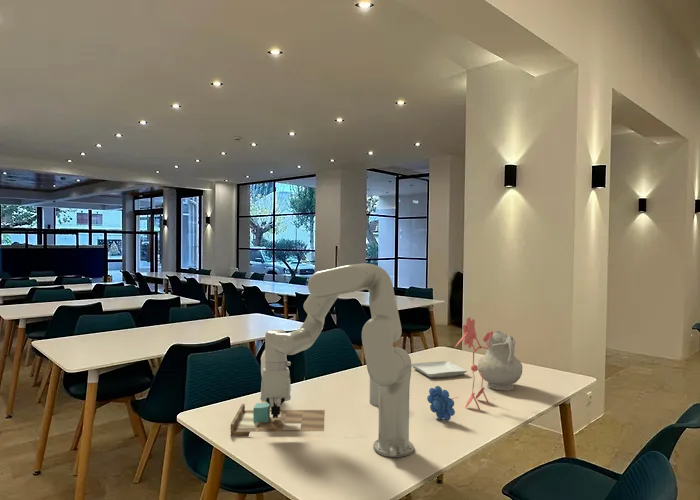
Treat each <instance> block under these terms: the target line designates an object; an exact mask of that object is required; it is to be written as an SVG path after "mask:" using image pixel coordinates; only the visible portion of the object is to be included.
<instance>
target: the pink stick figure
mask: <svg viewBox="0 0 700 500" xmlns="http://www.w3.org/2000/svg"><path fill="white" fill-rule="evenodd" d="M475 323H476V320H475V318H473V319H471V317H470V316H468V317H467V318H466V321H465V324H463V325H462V330H463V336H462V337H461V338H460V339H459V341H458V342H457V343H456V344H455V346H454V348H456V347H458V346H459V345H460V344H461V343H462V341H463V343H464V345H465V346H466V345H467V347H468V348H469V349H471V347H472V348H473V352H472V365H471V366H470V371H472V376H473V380H472V381H473V382H472V391H471V392H472V393H471V395H470V397H469V398H468V400H467V401H466V404H465V408H467V407H468V406H469V405H470V403H471V402H472V401H473V400H474V401H475V404H476V406H477V409H478V410H481V408H480V405H479V404H478V402H477V400H478V399H479V397H480V396H481V395H482V394H483V396H484V398H485V400H486V403H487V404H489V403H490V402H489V399H488V398H487V395H486V394H485V387H483V385H481V386H480V390H479V391H478V392H477V394H476V393H475V392H474V387H475V374H474V372H477V371H478V372H479V371H480V370H478V364H475V352H477V351H478V350H480V349H485V350H487V349H488V348H489V344H490V340H491V337H492V336H493V335H494V332H493V331H492V330H491V331H489V332H486V333H487V334H486V335H485V334H484V335H485V336H483V338H482V340H483V342H484V343H485V342H486V341H487V340H489V342H488V347H486V346H482V345H481V344H480V342H479V340H478V338H477V332H476V327H475ZM474 340H475V341H476V343H477V345H478V347H477V348H475V345H474ZM481 372H482V377H481V384H483V380H484V379H483V371H481ZM475 395H476V396H475ZM457 398H458V396H456V397H453V398H452V400H453V399H457ZM492 399H494V400H495V398H492Z"/></svg>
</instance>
